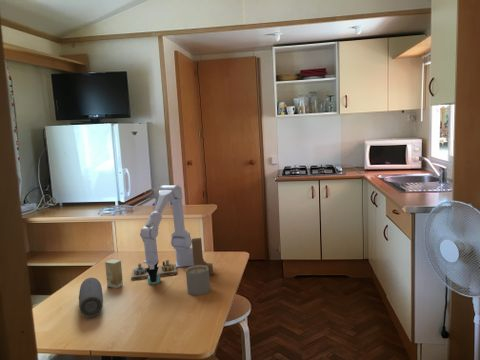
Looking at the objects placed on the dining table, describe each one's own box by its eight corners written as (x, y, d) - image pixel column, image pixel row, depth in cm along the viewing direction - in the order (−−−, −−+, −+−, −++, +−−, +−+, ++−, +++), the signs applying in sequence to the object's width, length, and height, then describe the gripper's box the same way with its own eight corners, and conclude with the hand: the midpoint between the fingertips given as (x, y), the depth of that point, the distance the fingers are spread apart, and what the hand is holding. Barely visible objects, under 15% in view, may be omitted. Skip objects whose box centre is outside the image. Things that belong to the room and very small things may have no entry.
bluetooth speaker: (80, 300, 176) (77, 278, 174) (103, 295, 179) (100, 274, 178) (79, 322, 155) (76, 298, 153) (105, 317, 158) (102, 293, 156)
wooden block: (213, 272, 199) (210, 236, 196) (213, 275, 194) (210, 239, 192) (195, 273, 198) (191, 238, 196) (194, 277, 194) (191, 241, 191)
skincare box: (107, 286, 189) (104, 261, 187) (113, 283, 193) (111, 258, 191) (117, 288, 186) (114, 263, 184) (123, 285, 190) (121, 260, 188)
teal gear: (160, 279, 194) (159, 273, 194) (160, 283, 189) (159, 277, 188) (148, 280, 193) (147, 274, 193) (147, 285, 187) (147, 279, 187)
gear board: (176, 266, 210) (175, 255, 209) (176, 274, 199) (175, 262, 198) (132, 272, 206) (131, 261, 205) (131, 280, 195) (130, 268, 194)
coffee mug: (209, 294, 172) (207, 272, 171) (186, 296, 172) (184, 273, 171) (211, 282, 186) (209, 261, 184) (189, 284, 185) (187, 263, 184)
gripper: (142, 247, 195) (145, 274, 197) (141, 257, 181) (144, 285, 183) (157, 246, 196) (160, 272, 198) (157, 255, 182) (160, 283, 184)
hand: (153, 278), depth 191 cm, fingers open, 7 cm apart
